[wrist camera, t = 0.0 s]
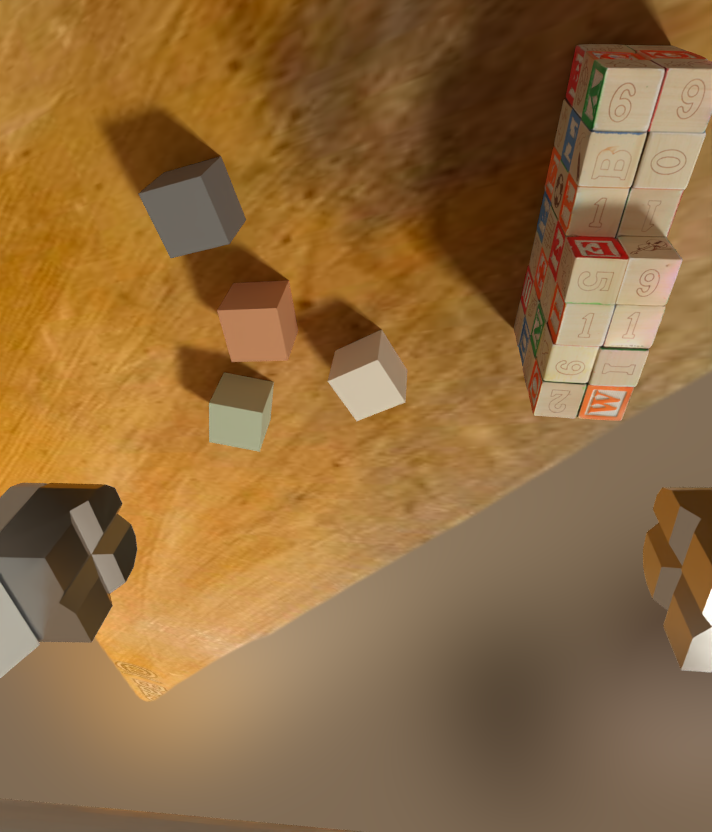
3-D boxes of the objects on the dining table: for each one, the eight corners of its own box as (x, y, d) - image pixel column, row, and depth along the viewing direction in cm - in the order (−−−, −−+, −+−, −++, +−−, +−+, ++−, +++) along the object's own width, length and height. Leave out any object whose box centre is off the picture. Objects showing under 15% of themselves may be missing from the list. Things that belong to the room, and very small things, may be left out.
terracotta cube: (233, 282, 50) (217, 310, 46) (288, 280, 49) (276, 308, 45) (246, 331, 53) (231, 361, 49) (298, 330, 52) (287, 360, 48)
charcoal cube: (163, 172, 44) (138, 193, 41) (221, 155, 43) (200, 176, 39) (191, 233, 47) (170, 258, 44) (246, 219, 46) (229, 243, 42)
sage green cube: (224, 371, 56) (209, 402, 52) (274, 381, 56) (262, 412, 53) (223, 410, 59) (209, 441, 56) (270, 419, 60) (259, 451, 56)
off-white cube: (335, 350, 53) (327, 381, 49) (381, 329, 51) (377, 359, 47) (361, 388, 56) (356, 421, 52) (407, 369, 54) (405, 402, 50)
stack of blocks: (572, 41, 37) (622, 74, 27) (673, 43, 36) (760, 77, 27) (512, 330, 50) (532, 418, 41) (585, 334, 50) (622, 424, 40)
